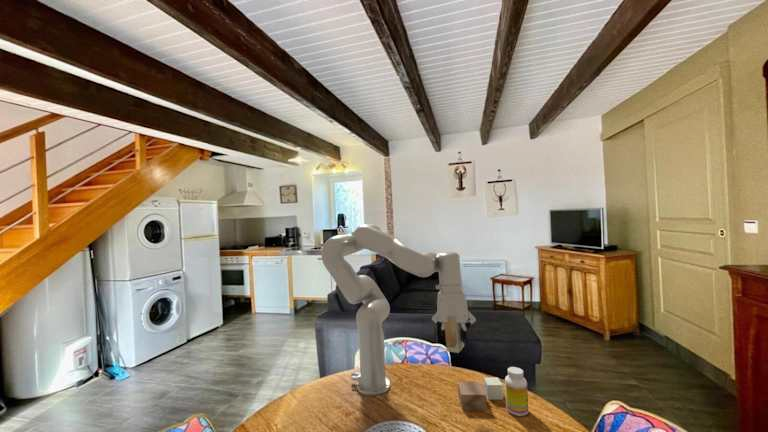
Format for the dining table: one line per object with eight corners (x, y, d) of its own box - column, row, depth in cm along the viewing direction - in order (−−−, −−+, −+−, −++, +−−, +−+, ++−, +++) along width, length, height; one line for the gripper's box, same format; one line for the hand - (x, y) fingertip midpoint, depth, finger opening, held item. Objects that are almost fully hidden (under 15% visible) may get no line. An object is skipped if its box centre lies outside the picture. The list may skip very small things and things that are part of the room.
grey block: (488, 399, 105) (487, 385, 105) (484, 391, 110) (483, 377, 110) (503, 399, 105) (502, 385, 105) (498, 391, 110) (497, 377, 110)
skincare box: (453, 344, 110) (450, 310, 110) (465, 346, 108) (462, 311, 108) (446, 351, 105) (442, 315, 105) (458, 353, 102) (455, 316, 103)
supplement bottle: (531, 417, 95) (529, 376, 95) (508, 416, 96) (506, 374, 96) (525, 404, 101) (523, 365, 102) (504, 403, 103) (502, 364, 103)
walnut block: (461, 409, 101) (461, 394, 101) (458, 395, 109) (457, 381, 109) (487, 410, 100) (486, 395, 100) (481, 396, 108) (481, 381, 108)
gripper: (424, 290, 106) (428, 343, 105) (476, 290, 101) (480, 346, 100) (428, 286, 113) (432, 335, 113) (476, 285, 108) (481, 337, 107)
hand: (455, 340), depth 106 cm, fingers closed on skincare box, 5 cm apart
